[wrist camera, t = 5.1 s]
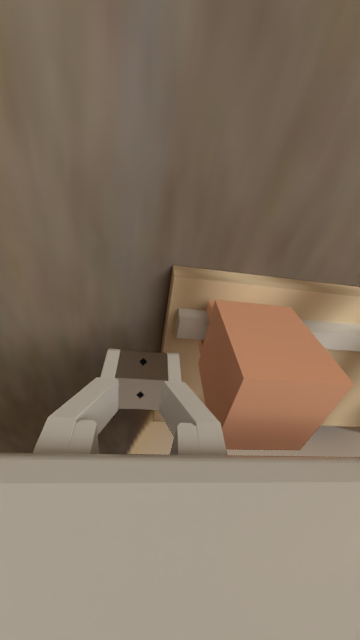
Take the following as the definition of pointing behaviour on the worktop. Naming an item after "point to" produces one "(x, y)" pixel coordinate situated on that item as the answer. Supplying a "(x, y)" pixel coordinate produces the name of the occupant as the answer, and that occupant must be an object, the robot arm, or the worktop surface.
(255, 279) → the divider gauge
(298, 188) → the worktop surface
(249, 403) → the block
